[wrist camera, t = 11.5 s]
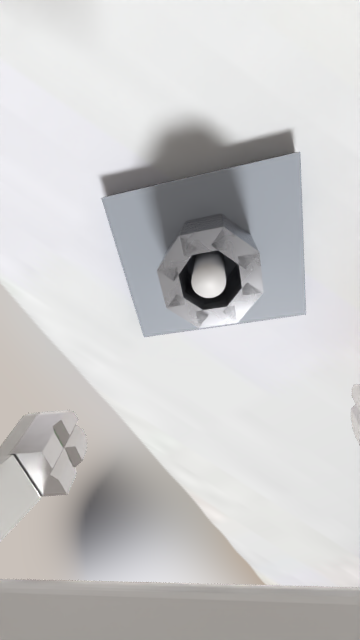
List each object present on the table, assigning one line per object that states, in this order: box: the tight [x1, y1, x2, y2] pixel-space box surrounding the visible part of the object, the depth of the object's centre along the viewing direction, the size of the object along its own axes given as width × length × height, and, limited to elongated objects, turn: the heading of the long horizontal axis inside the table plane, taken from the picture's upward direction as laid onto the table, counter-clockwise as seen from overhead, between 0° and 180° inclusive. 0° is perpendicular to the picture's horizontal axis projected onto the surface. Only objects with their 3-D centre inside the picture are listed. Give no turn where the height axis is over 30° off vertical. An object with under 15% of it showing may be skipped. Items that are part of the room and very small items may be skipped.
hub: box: [157, 214, 264, 328], centre depth 22 cm, size 6×6×5 cm
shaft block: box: [102, 152, 306, 337], centre depth 22 cm, size 14×12×6 cm
